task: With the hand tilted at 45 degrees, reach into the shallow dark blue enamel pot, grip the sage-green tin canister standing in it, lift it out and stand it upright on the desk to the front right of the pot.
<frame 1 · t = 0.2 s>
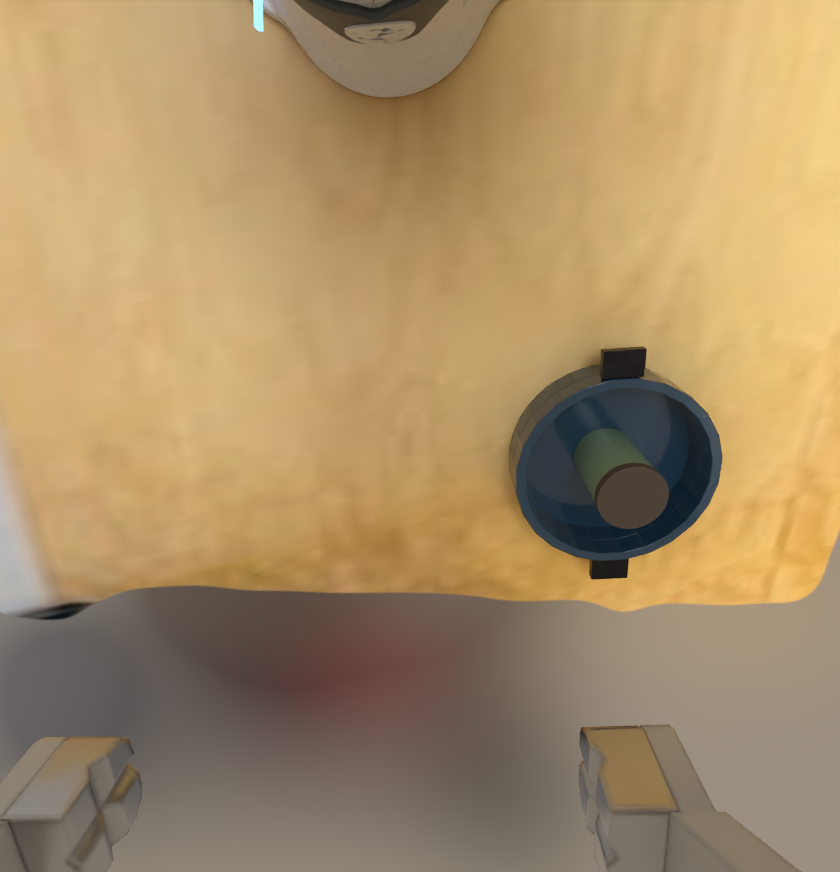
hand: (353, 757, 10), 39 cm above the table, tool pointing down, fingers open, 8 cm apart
canister: (616, 474, 46), in the pot
pot ear handles: (615, 472, 46), point 3 cm above the table
pot: (602, 453, 50), on the table
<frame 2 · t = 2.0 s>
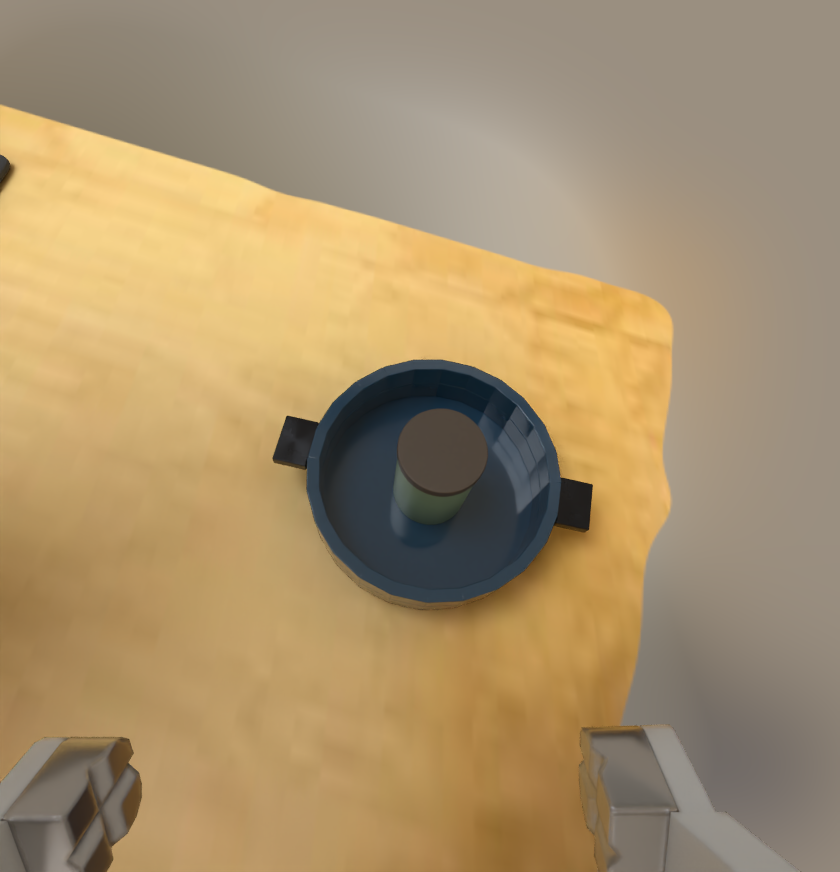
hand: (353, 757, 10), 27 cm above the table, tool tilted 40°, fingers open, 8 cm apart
canister: (435, 471, 37), in the pot
pot ear handles: (434, 473, 37), point 3 cm above the table
pot: (428, 490, 40), on the table
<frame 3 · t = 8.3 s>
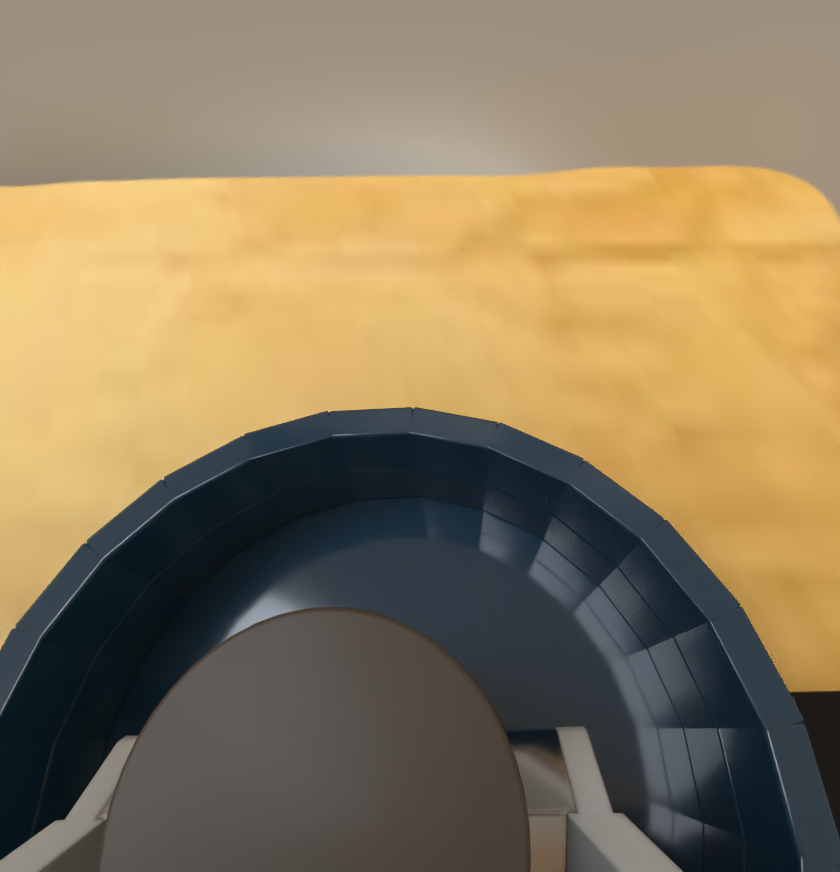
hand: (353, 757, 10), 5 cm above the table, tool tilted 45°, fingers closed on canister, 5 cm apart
canister: (361, 795, 10), in the pot, touching gripper
pot ear handles: (365, 793, 11), point 3 cm above the table
pot: (388, 778, 14), on the table
when the fingers open (5 cm above the table, at t = 18.4 s): canister stays where it is, on the table.
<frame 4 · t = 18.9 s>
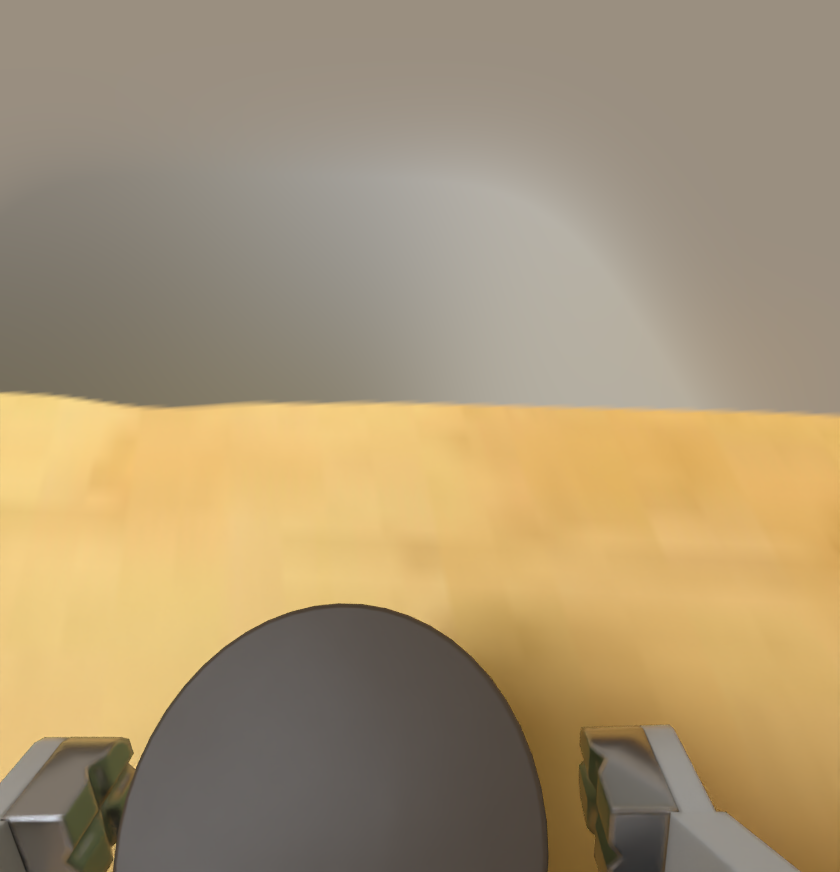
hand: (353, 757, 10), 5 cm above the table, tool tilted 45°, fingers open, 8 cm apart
canister: (373, 792, 10), on the table
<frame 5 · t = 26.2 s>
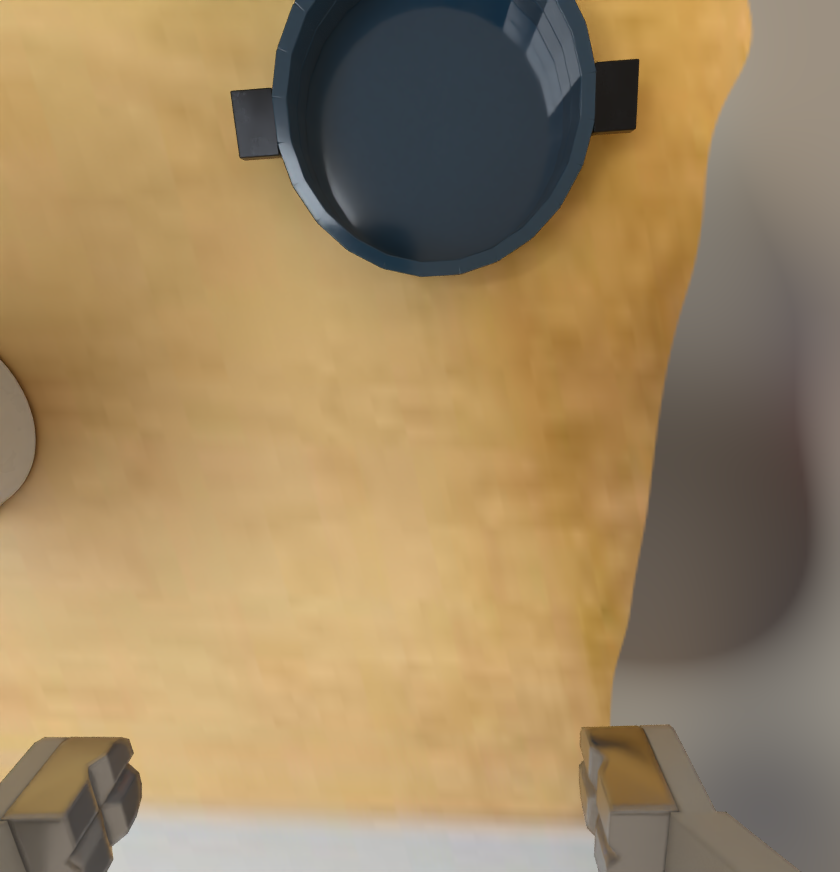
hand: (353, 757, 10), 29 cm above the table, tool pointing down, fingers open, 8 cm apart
pot ear handles: (432, 111, 29), point 3 cm above the table
pot: (433, 128, 33), on the table
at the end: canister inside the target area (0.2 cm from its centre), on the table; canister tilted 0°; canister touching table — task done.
